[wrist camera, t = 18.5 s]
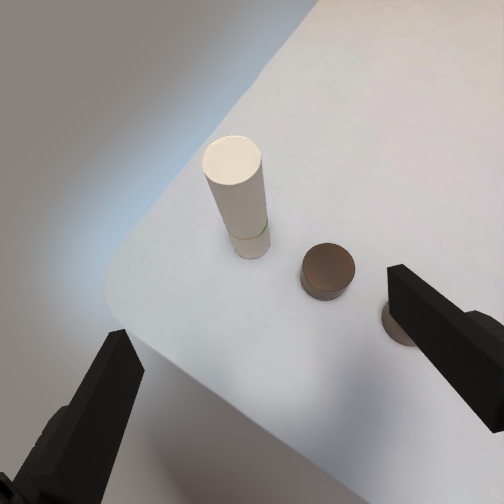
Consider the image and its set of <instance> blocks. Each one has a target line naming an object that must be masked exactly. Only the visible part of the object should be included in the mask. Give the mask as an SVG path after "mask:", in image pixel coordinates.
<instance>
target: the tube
mask: <svg viewBox="0 0 504 504" xmlns="http://www.w3.org/2000/svg"><path fill="white" fill-rule="evenodd" d="M202 169H203V171H204V174H205V176H206V179H207V181H208V184H209V186H210V189H211V191H212V194H213V196H214V199H215V201H216V203H217V206H218V208H219V211H220V213H221V216H222V218H223V221H224V223H225V226H226V228H227V231H228V233H229V236H230V238H231V241H232V243H233V246H234V248H235V251H236V252H237V253H238V254H239V255H240V256H241V257H243V258H246V259H256V258H259V257H261V256H262V255H264V254H265V253H266V252H267V250H268V248H269V245H270V236H269V227H268V218H267V208H266V198H265V189H264V179H263V169H262V160H261V153H260V150H259V148H258V146H257V145H256V144H255V143H254V142H253V141H252V140H250V139H248V138H246V137H243V136H237V135H232V136H225V137H222V138H220V139H217V140H216V141H214V142H213V143H211V144H210V145H209V146H208V147H207V149H206V150H205V152H204V154H203V157H202Z"/></svg>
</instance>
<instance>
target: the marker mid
mask: <svg viewBox="0 0 504 504" xmlns="http://www.w3.org/2000/svg"><path fill="white" fill-rule="evenodd" d="M354 274H355V264H354V261H353V258H352V256H351V255H350V254H349V252H348V251H347V250H345V249H344V248H343V247H341V246H339V245H336V244H332V243H323V244H319V245H316V246H314V247H312V248H311V249H310V250H309V251H308V252H307V253H306V255H305V257H304V260H303V264H302V270H301V283H302V286H303V288H304V290H305V291H306V292H307V293H308V294H309V295H310V296H312V297H313V298H315V299H318V300H332V299H335V298H337V297H338V296H340V295H341V294H342V293H343V292H344V290H345V289H346V288H347V286H348V285H349V284H350V282H351V281H352V279H353V277H354Z"/></svg>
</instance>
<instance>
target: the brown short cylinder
mask: <svg viewBox="0 0 504 504" xmlns="http://www.w3.org/2000/svg"><path fill="white" fill-rule="evenodd" d="M382 323H383V326H384V328H385V330H386V332H387V333H388V335H389V336H390V337H391V338H392V339H394V340H395V341H397V342H398V343H400V344H403V345H407V346H417V345H416V344H415V343H414V342H413V341H412V340H411V338H410V337H409V336H408V335H407V334H406V333H405V331H404V330H403V329H402V328H401V327H400V326H399V325H398V323H397V322H396V321H395V320H394V319H393V318H392V316H391V315H390V314H389V301H388V302H387V304H386V305H385V306H384V308H383V311H382Z"/></svg>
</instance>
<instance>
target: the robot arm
mask: <svg viewBox="0 0 504 504" xmlns="http://www.w3.org/2000/svg"><path fill="white" fill-rule="evenodd" d="M387 276H388V299H389V314H390V315H391V316H392V318H393V319H394V320H395V321H396V322H397V323H398V325H399V326H400V327H401V328H402V329H403V330H404V331H405V333H406V334H407V335H408V336H409V337H410V338H411V340H412V341H413V342H414V343H415V344H416V345H417V346H418V348H419V349H420V350H421V351H422V352H423V353H424V355H425V356H426V357H427V358H428V359H429V360H430V361H431V363H432V364H433V365H434V366H435V367H436V368H437V370H438V371H439V372H440V373H441V374H442V375H443V376H444V378H445V379H446V380H447V381H448V382H449V383H450V385H451V386H452V387H453V388H454V389H455V390H456V391H457V393H458V394H459V395H460V396H461V397H462V398H463V400H464V401H465V402H466V403H467V404H468V405H469V406H470V408H471V409H472V410H473V411H474V412H475V413H476V415H477V416H478V417H479V418H480V419H481V420H482V421H483V423H484V424H485V425H486V426H487V427H488V428H489V430H490V431H491V432H492V433H497V432H501V431H504V326H503V325H502V324H501V323H499V322H498V321H497V320H495V319H494V318H492V317H491V316H488V315H486V314H483V313H481V312H479V311H476V310H474V311H470V312H466V313H465V312H463V311H462V310H461V309H459V308H458V307H457V306H456V305H454V304H453V303H452V302H451V301H449V300H448V299H447V298H445V297H444V296H443V295H442V294H440V293H439V292H438V291H437V290H435V289H434V288H433V287H431V286H430V285H429V284H428V283H426V282H425V281H424V280H422V279H421V278H420V277H419V276H417V275H416V274H415V273H414V272H412V271H411V270H410V269H408V268H407V267H406V266H405V265H403V264H400V265H396V266H392V267H387ZM144 371H145V370H144V368H143V366H142V364H141V362H140V360H139V358H138V356H137V353H136V351H135V349H134V347H133V345H132V343H131V341H130V339H129V337H128V335H127V333H126V331H125V329H122V330H118V331H113V332H110V333H109V334H108V336H107V338H106V340H105V341H104V343H103V345H102V347H101V349H100V350H99V352H98V354H97V356H96V357H95V359H94V361H93V363H92V365H91V367H90V368H89V370H88V372H87V374H86V375H85V377H84V379H83V381H82V382H81V384H80V386H79V388H78V390H77V391H76V393H75V395H74V397H73V398H72V400H71V402H70V404H69V405H68V406H63V407H61V408H60V409H59V410H58V411H57V412H56V413H55V414H54V416H53V417H52V418H51V419H50V420H49V422H48V423H47V425H46V427H45V428H44V430H43V432H42V435H41V436H40V437H39V438H38V440H37V442H36V443H35V447H33V448H32V450H31V452H30V453H29V455H28V457H27V458H26V460H25V462H24V463H23V465H22V467H21V469H20V470H19V472H18V474H17V475H16V477H15V478H14V480H13V482H12V481H11V480H10V479H9V478H8V477H7V476H6V475H5V474H4V473H3V472H0V504H101V501H102V498H103V495H104V492H105V489H106V486H107V483H108V480H109V477H110V474H111V471H112V468H113V465H114V462H115V459H116V456H117V453H118V450H119V447H120V444H121V441H122V438H123V434H124V432H125V428H126V426H127V422H128V419H129V416H130V413H131V410H132V407H133V404H134V401H135V398H136V395H137V392H138V389H139V386H140V383H141V380H142V377H143V374H144Z"/></svg>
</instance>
